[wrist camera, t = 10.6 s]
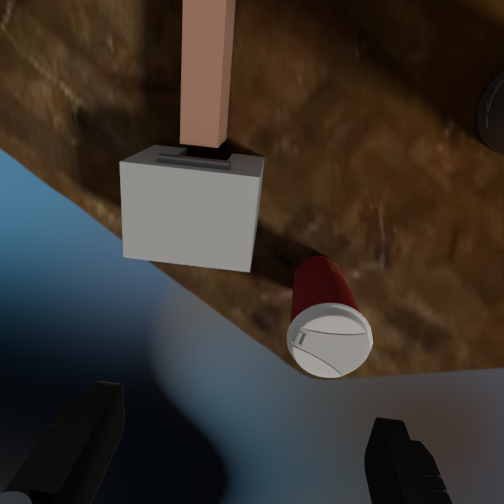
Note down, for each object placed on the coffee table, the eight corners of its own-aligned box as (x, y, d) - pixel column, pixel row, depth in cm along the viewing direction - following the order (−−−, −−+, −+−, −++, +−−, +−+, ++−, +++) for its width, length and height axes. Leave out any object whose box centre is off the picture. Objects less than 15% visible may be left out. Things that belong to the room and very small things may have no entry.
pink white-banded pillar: (239, -52, 34) (231, -79, 29) (226, 139, 41) (217, 148, 35) (200, -56, 34) (184, -83, 29) (193, 135, 41) (179, 143, 35)
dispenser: (265, 151, 41) (260, 170, 32) (256, 234, 45) (249, 272, 36) (155, 139, 42) (119, 154, 32) (155, 222, 45) (123, 257, 36)
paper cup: (276, 292, 48) (275, 367, 35) (298, 238, 45) (305, 299, 32) (335, 311, 48) (354, 392, 36) (361, 259, 45) (392, 327, 33)
